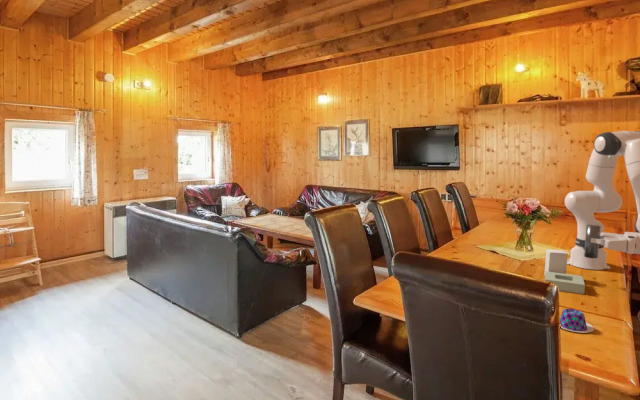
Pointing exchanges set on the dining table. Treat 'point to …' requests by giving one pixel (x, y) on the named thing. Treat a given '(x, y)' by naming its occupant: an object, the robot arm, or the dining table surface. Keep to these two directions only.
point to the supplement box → (556, 261)
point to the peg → (590, 248)
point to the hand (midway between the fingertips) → (589, 238)
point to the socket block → (566, 282)
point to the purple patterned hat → (574, 321)
